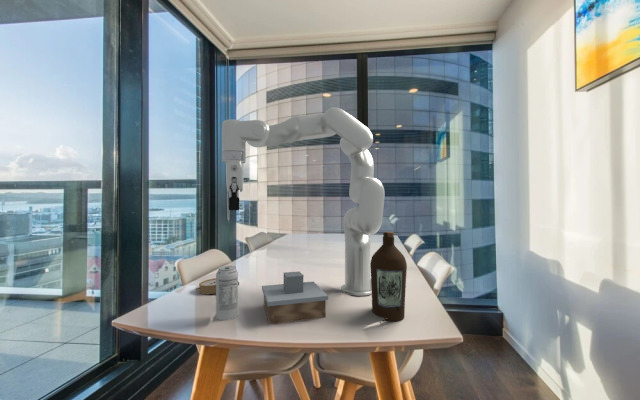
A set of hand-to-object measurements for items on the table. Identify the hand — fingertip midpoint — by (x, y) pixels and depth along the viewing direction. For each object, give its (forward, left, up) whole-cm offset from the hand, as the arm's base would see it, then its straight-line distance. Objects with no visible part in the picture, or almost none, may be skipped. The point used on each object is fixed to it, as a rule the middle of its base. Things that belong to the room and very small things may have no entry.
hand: (233, 209), depth 97 cm
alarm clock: (+5, -16, -32) cm, 36 cm away
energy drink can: (+2, +13, -31) cm, 34 cm away
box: (-17, +15, -31) cm, 39 cm away
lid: (-17, +15, -26) cm, 35 cm away
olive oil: (-44, +24, -31) cm, 59 cm away
